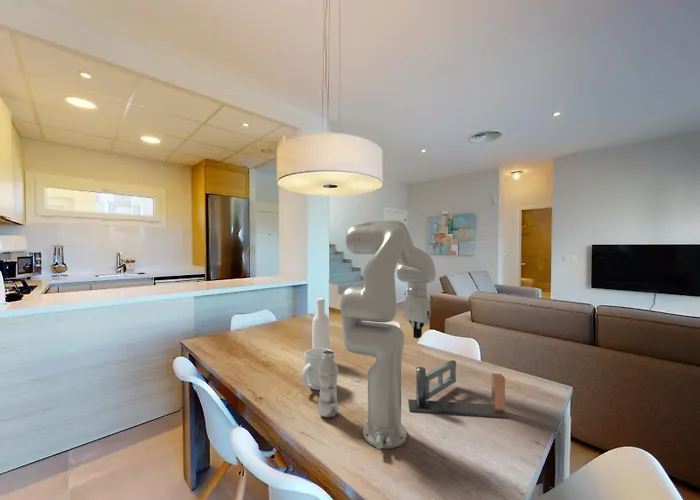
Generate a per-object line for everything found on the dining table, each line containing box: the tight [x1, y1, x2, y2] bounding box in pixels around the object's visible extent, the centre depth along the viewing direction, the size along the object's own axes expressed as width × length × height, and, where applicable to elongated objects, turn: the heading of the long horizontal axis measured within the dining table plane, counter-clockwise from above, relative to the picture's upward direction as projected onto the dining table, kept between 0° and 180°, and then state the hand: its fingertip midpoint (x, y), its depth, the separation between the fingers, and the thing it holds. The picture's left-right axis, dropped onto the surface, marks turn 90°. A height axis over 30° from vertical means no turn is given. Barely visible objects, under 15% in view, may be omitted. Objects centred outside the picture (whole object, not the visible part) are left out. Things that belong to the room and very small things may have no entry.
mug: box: [301, 348, 332, 391], centre depth 113 cm, size 15×11×13 cm
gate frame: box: [407, 366, 508, 419], centre depth 98 cm, size 6×30×13 cm, turn 83°
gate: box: [426, 359, 457, 401], centre depth 107 cm, size 20×2×8 cm, turn 133°
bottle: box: [311, 297, 330, 349], centre depth 138 cm, size 8×8×30 cm
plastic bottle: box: [317, 350, 339, 418], centre depth 95 cm, size 6×7×20 cm
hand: (417, 337), depth 120 cm, fingers closed
